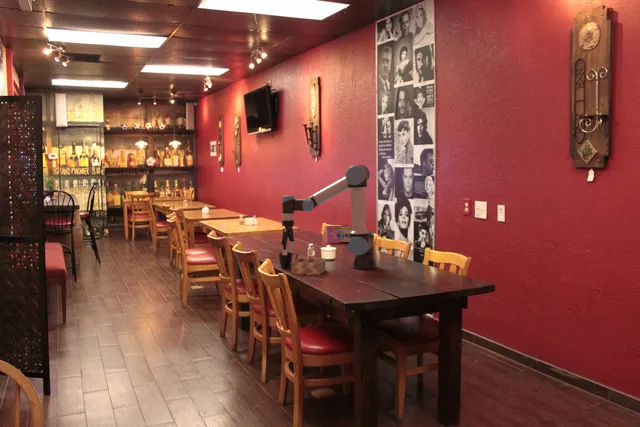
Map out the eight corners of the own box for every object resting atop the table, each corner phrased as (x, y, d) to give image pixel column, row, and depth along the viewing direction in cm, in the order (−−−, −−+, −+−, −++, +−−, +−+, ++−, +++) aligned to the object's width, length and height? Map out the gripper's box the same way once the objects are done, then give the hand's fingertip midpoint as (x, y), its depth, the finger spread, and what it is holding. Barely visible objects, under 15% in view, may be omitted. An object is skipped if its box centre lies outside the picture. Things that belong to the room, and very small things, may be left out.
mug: (299, 268, 371) (298, 253, 370) (280, 269, 368) (279, 254, 367) (296, 266, 379) (296, 251, 378) (278, 266, 376) (278, 252, 375)
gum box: (352, 241, 492) (352, 225, 491) (355, 242, 484) (355, 226, 483) (324, 242, 486) (324, 225, 484) (327, 243, 478) (327, 227, 477)
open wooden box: (325, 269, 366) (325, 258, 365) (319, 275, 349) (319, 263, 349) (299, 268, 370) (298, 257, 369) (291, 274, 353) (291, 262, 352)
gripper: (287, 217, 384) (287, 249, 386) (276, 221, 359) (276, 256, 362) (298, 218, 382) (298, 250, 384) (288, 222, 358) (288, 256, 360)
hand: (287, 253), depth 373 cm, fingers open, 13 cm apart
